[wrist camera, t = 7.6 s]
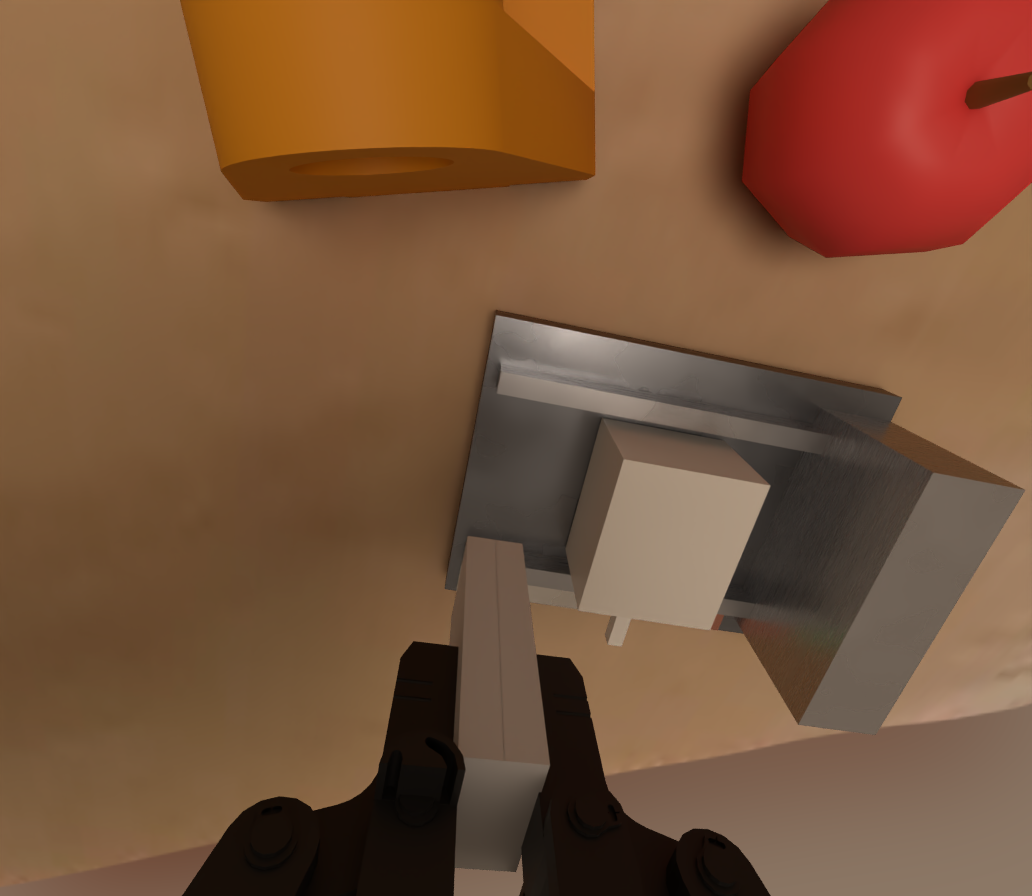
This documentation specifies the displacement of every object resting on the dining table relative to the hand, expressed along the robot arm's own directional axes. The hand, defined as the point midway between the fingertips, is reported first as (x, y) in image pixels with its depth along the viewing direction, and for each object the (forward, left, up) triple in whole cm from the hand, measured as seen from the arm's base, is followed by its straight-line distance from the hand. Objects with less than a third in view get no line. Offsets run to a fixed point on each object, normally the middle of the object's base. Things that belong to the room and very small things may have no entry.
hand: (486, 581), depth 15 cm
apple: (+9, +14, -9) cm, 19 cm away
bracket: (-5, +13, -9) cm, 16 cm away
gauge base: (+7, 0, -9) cm, 11 cm away
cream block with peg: (+6, -1, -7) cm, 10 cm away
